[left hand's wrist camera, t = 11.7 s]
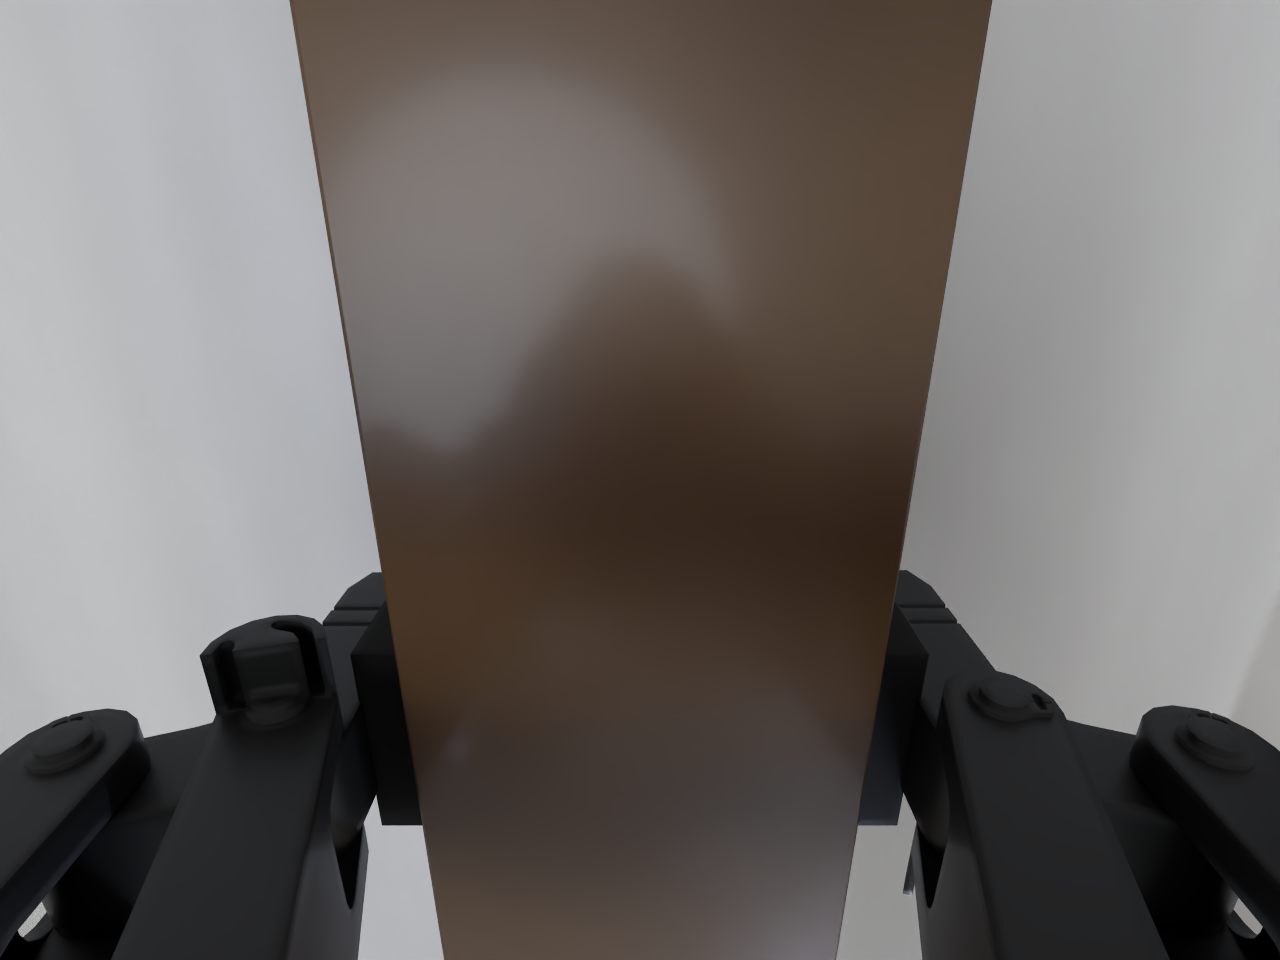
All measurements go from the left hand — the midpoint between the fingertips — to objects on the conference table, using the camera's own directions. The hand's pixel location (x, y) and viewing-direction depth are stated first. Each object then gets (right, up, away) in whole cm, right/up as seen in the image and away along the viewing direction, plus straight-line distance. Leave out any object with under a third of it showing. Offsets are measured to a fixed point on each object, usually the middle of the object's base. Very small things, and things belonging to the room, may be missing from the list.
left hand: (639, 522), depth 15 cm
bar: (0, +19, -7) cm, 21 cm away
